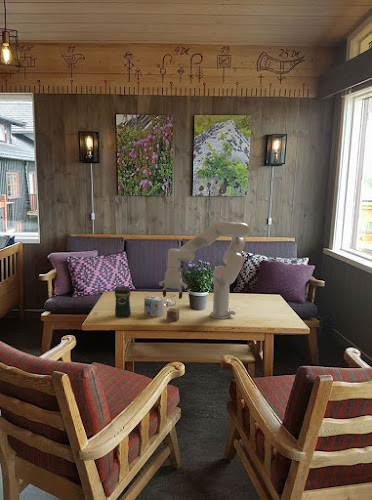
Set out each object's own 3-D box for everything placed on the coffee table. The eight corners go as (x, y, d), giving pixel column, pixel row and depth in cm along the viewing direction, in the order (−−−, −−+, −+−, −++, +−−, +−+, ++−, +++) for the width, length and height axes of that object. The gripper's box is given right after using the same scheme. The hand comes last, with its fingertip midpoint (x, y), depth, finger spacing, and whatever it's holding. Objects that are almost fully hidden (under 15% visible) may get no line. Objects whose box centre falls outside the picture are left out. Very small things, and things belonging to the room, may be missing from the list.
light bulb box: (143, 314, 252) (143, 297, 250) (149, 311, 258) (149, 295, 256) (158, 317, 247) (158, 300, 246) (164, 314, 253) (164, 297, 251)
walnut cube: (179, 318, 246) (179, 309, 245) (176, 321, 241) (176, 312, 240) (169, 317, 248) (169, 308, 247) (166, 320, 242) (166, 311, 241)
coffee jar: (131, 313, 253) (131, 285, 250) (130, 318, 245) (130, 288, 242) (115, 313, 252) (115, 284, 249) (114, 318, 244) (113, 288, 241)
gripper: (189, 269, 241) (187, 297, 243) (161, 266, 245) (160, 294, 248) (186, 272, 233) (184, 301, 236) (157, 269, 238) (156, 297, 241)
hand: (172, 297), depth 242 cm, fingers open, 9 cm apart
